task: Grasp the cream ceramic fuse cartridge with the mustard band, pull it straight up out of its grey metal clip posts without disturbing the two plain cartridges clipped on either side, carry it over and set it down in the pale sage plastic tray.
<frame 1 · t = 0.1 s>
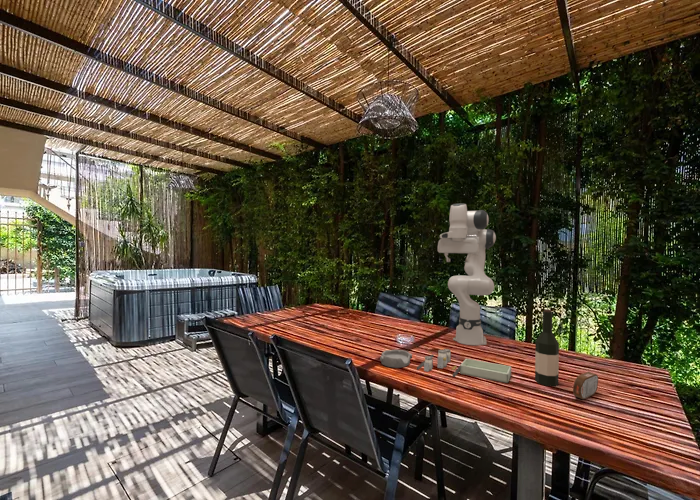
hand: (457, 262, 172), 48 cm above the table, fingers open, 8 cm apart
wine bottle: (546, 383, 140), on the table
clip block: (442, 365, 158), on the table
tin: (586, 397, 127), on the table
dish: (394, 364, 161), on the table
tray: (485, 374, 148), on the table
fuse cartridge near arm: (446, 361, 165), on the table
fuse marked: (442, 365, 158), resting in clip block
fuse cartridge near camera: (428, 369, 153), on the table
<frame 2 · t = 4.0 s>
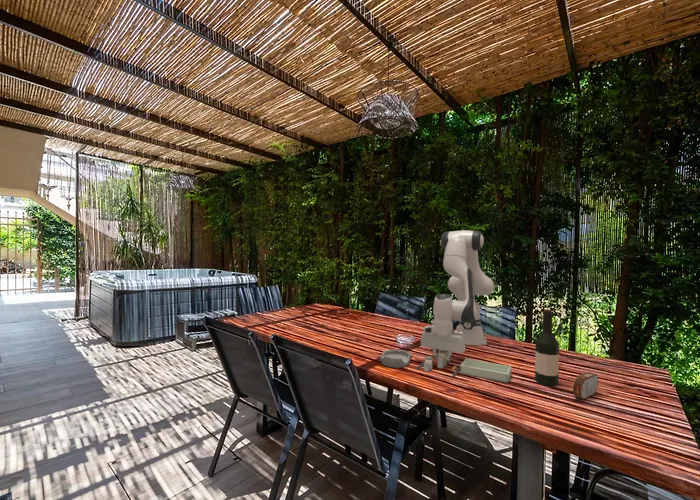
hand: (442, 359, 158), 3 cm above the table, fingers closed on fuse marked, 4 cm apart
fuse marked: (442, 365, 158), resting in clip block, touching gripper
everything else where it was.
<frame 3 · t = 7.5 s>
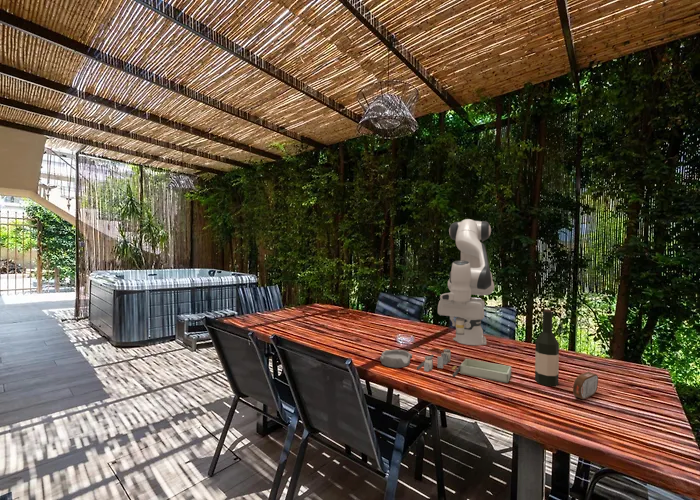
hand: (460, 327, 154), 19 cm above the table, fingers closed on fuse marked, 4 cm apart
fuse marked: (459, 333, 154), point 16 cm above the table, touching gripper
everything else where it was.
when the fingers open (5 cm above the table, at t = 11.3 s): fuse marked stays where it is, resting on tray.
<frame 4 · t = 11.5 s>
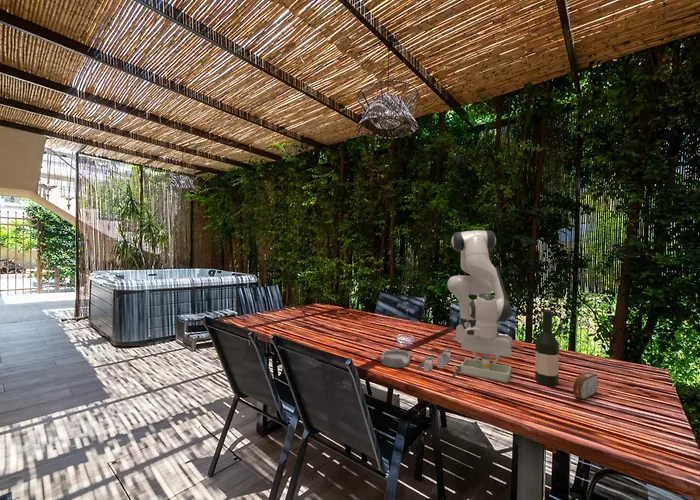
hand: (485, 363, 148), 5 cm above the table, fingers open, 6 cm apart
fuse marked: (485, 372, 148), point 1 cm above the table, touching tray
everything else where it was.
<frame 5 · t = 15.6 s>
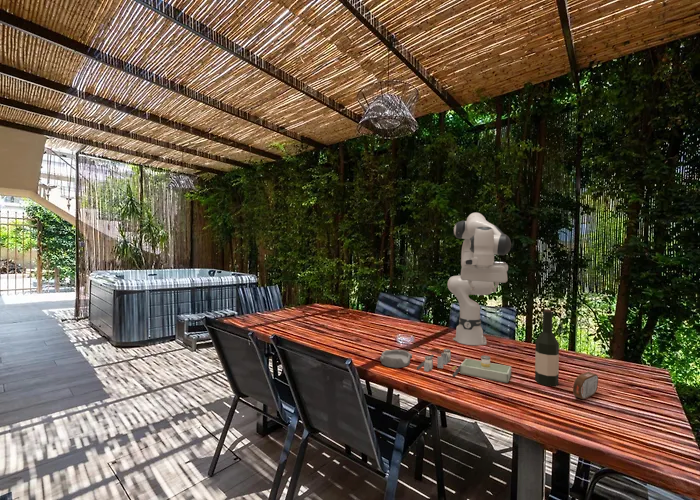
hand: (483, 291, 157), 35 cm above the table, fingers open, 8 cm apart
nothing on the table moved.
at the end: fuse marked inside the target area on the tray (0.0 cm from its centre), point 0.6 cm above the tray's base; fuse cartridge near arm moved 0.0 cm from its start; fuse cartridge near camera moved 0.0 cm from its start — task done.
